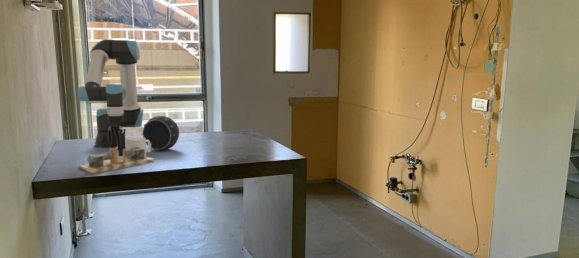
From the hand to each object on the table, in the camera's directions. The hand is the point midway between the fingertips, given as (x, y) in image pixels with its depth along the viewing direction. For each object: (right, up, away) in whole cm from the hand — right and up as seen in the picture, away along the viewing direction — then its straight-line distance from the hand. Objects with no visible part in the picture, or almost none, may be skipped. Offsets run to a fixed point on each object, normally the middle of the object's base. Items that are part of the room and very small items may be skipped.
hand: (117, 161), depth 217 cm
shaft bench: (0, -2, +1) cm, 2 cm away
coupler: (0, 0, 0) cm, 0 cm away
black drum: (+11, +4, +36) cm, 38 cm away
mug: (+4, 0, +19) cm, 19 cm away
